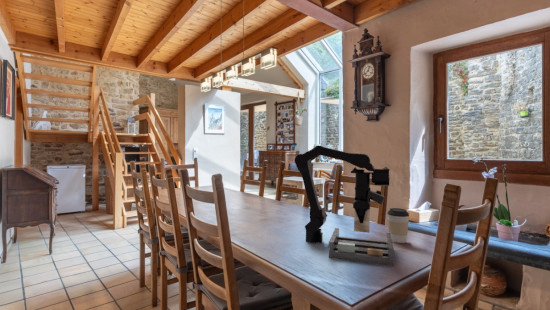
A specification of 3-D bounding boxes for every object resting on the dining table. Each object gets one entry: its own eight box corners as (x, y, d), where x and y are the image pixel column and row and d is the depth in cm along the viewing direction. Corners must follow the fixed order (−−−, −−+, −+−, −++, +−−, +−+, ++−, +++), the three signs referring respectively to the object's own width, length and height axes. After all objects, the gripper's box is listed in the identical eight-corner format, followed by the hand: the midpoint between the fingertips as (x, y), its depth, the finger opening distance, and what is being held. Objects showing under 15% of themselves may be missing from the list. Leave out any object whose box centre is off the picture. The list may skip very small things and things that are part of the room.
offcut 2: (367, 260, 106) (367, 249, 106) (367, 258, 108) (367, 247, 107) (382, 262, 104) (382, 251, 104) (382, 260, 106) (382, 249, 106)
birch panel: (354, 231, 121) (354, 209, 120) (354, 229, 122) (354, 208, 122) (369, 232, 119) (369, 210, 118) (369, 231, 121) (369, 209, 120)
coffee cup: (407, 240, 133) (407, 207, 133) (410, 246, 125) (411, 211, 124) (385, 238, 136) (386, 206, 136) (387, 244, 127) (388, 210, 127)
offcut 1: (337, 257, 109) (337, 243, 109) (338, 255, 111) (338, 242, 111) (354, 259, 107) (354, 245, 107) (354, 257, 109) (355, 243, 109)
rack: (328, 260, 108) (329, 241, 108) (335, 244, 127) (335, 228, 127) (393, 268, 101) (393, 248, 101) (389, 250, 120) (390, 233, 120)
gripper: (384, 188, 109) (383, 230, 109) (382, 183, 127) (381, 219, 127) (353, 186, 112) (352, 227, 113) (355, 181, 130) (354, 217, 130)
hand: (361, 222), depth 120 cm, fingers closed on birch panel, 2 cm apart
